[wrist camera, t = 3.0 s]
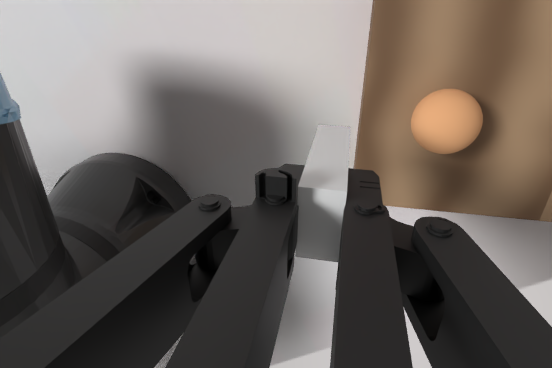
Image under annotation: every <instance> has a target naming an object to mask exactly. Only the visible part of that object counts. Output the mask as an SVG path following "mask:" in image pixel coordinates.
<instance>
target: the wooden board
mask: <svg viewBox="0 0 552 368" xmlns="http://www.w3.org/2000/svg"><path fill="white" fill-rule="evenodd" d="M441 89H458V90H462V91H464V92H466V93H468V94H470V95H471V96H472V97H474V98H475V100H476V101H477V102H478V103H479V105H480V107H481V110H482V114H483V123H482V128H481V131H480V133H479V135H478V136H477V138H476V139H475V140H474V141H473V142H472V143H471V144H470V145H469V146H467V147H466V148H464V149H463V150H460V151H458V152H455V153H451V154H438V153H433V152H430V151H428V150H426V149H424V148H423V147H422V146H420V145H419V144H418V142H417V141H416V140H415V138H414V136H413V133H412V130H411V118H412V114H413V112H414V109H415V108H416V106H417V105H418V103H419V102H420V101H421V100H422V99H423V98H424V97H426V96H427V95H429V94H430V93H432V92H435V91H437V90H441ZM354 169H362V170H373V171H374V172H375V173H376V174H377V175H378V176H379V179H380V187H381V194H382V201H383V205H384V206H395V207H405V208H415V209H425V210H435V211H446V212H456V213H466V214H476V215H487V216H497V217H507V218H517V219H527V220H538V221H548V222H552V0H373V5H372V14H371V23H370V31H369V40H368V49H367V57H366V66H365V74H364V83H363V92H362V100H361V109H360V118H359V126H358V135H357V144H356V152H355V161H354Z"/></svg>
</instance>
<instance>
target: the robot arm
mask: <svg viewBox="0 0 552 368" xmlns="http://www.w3.org/2000/svg"><path fill="white" fill-rule="evenodd" d="M20 115H21V114H20V109H19V105H18V104H17V103H16V102H15V101H14V100H13V99H11V97H10V94H9V92H8V90H7V87H6V85H5V82H4V80H3V78H2V75H1V73H0V368H154V367H155V366H156V364H157V363H158V362H159V361H160V360H161V359H162V357H163V356H164V355H165V354H166V353H167V352H168V350H169V349H170V348H171V347H172V346H173V344H174V343H175V342H176V341H177V340H178V339H179V337H180V336H181V335H182V334H183V333H184V334H183V336H182V337H181V339H180V341H179V343H178V345H177V347H176V349H175V351H174V353H173V354H172V356H171V358H170V360H169V362H168V364H167V366H166V368H269V367H270V362H271V358H272V354H273V350H274V346H275V342H276V338H277V333H278V329H279V325H280V321H281V317H282V313H283V309H284V304H285V300H286V296H287V292H288V288H289V284H290V280H291V275H292V271H293V267H294V253H295V249H296V257H303V258H311V259H318V260H325V261H333V262H338V271H337V281H336V297H335V310H334V323H333V336H332V349H331V363H330V368H413V367H412V361H411V354H410V347H409V341H408V334H407V328H406V321H405V315H404V309H405V311H406V313H407V315H408V317H409V319H410V322H411V324H412V326H413V328H414V330H415V332H416V334H417V336H418V339H419V341H420V343H421V345H422V347H423V349H424V351H425V354H426V356H427V358H428V360H429V362H430V364H431V366H432V368H552V327H551V326H550V325H549V324H548V322H547V321H546V320H545V319H544V318H543V317H542V316H541V315H540V314H539V313H538V311H537V310H536V309H535V308H534V307H533V306H532V305H531V304H530V303H529V301H528V300H527V299H526V298H525V297H524V296H523V295H522V294H521V293H520V292H519V290H518V289H517V288H516V287H515V286H514V285H513V284H512V283H511V282H510V280H509V279H508V278H507V277H506V276H505V275H504V274H503V273H502V272H501V271H500V269H499V268H498V267H497V266H496V265H495V264H494V263H493V262H492V261H491V260H490V258H489V257H488V256H487V255H486V254H485V253H484V252H483V251H482V250H481V248H480V247H479V246H478V245H477V244H476V243H475V242H474V241H473V240H472V239H471V237H470V236H469V235H468V234H467V233H466V232H465V231H464V230H463V229H462V228H461V227H460V226H458V225H457V224H456V223H453V222H451V221H449V220H447V219H444V218H440V217H422V218H420V219H418V220H416V222H415V224H414V226H410V225H407V224H404V223H401V222H398V221H396V220H394V219H392V218H391V217H389V211H388V210H387V208H386V207H385V206H384V205H383V201H382V194H381V187H380V179H379V176H378V175H377V174H376V173H375V172H374V171H373V170H362V169H350V168H348V165H349V145H350V127H349V126H333V125H318V128H317V131H316V134H315V137H314V140H313V143H312V146H311V149H310V152H309V155H308V158H307V161H306V164H305V166H304V165H293V164H285V165H283V166H281V167H280V168H271V169H265V170H262V171H260V172H258V173H257V174H256V175H255V185H256V198H255V200H254V202H253V204H252V205H250V206H244V207H232V208H231V201H230V200H229V199H228V198H226V197H224V196H221V195H215V194H211V195H205V196H202V197H199V198H197V199H195V200H193V201H190V199H189V198H188V196H187V195H186V193H185V192H184V191H183V189H182V188H181V187H180V186H179V185H178V184H177V183H176V182H175V181H174V180H173V179H172V178H171V177H170V176H169V175H168V174H166V173H165V172H164V171H162V170H161V169H159V168H158V167H156V166H155V165H153V164H151V163H149V162H147V161H145V160H142V159H140V158H137V157H134V156H131V155H126V154H120V153H105V154H99V155H95V156H92V157H90V158H88V159H86V160H84V161H83V162H81V163H79V164H77V165H75V166H74V167H72V168H71V169H69V170H68V171H67V172H65V173H64V174H63V175H62V176H61V177H60V179H59V180H58V182H57V183H56V185H55V186H54V188H53V190H52V191H51V192H50V194H49V195H48V196H47V195H46V192H45V190H44V187H43V184H42V181H41V178H40V176H39V173H38V170H37V167H36V164H35V161H34V159H33V156H32V153H31V150H30V147H29V145H28V142H27V139H26V136H25V133H24V130H23V128H22V125H21V122H20V118H21V116H20ZM194 257H195V258H194ZM193 258H194V259H193ZM403 307H404V309H403Z"/></svg>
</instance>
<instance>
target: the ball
mask: <svg viewBox="0 0 552 368" xmlns="http://www.w3.org/2000/svg"><path fill="white" fill-rule="evenodd" d="M482 123H483V114H482V110H481V107H480V105H479V103H478V102H477V101H476V100H475V98H474V97H472V96H471V95H470V94H468V93H466V92H464V91H462V90H458V89H441V90H437V91H435V92H432V93H430V94H429V95H427V96H426V97H424V98H423V99H422V100H421V101H420V102H419V103H418V105H417V106H416V108H415V109H414V112H413V114H412V118H411V130H412V133H413V136H414V138H415V140H416V141H417V142H418V144H419V145H420V146H422V147H423V148H424V149H426V150H428V151H430V152H433V153H438V154H451V153H455V152H458V151H460V150H463V149H464V148H466V147H467V146H469V145H470V144H471V143H472V142H473V141H474V140H475V139H476V138H477V136H478V135H479V133H480V131H481V128H482Z"/></svg>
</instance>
